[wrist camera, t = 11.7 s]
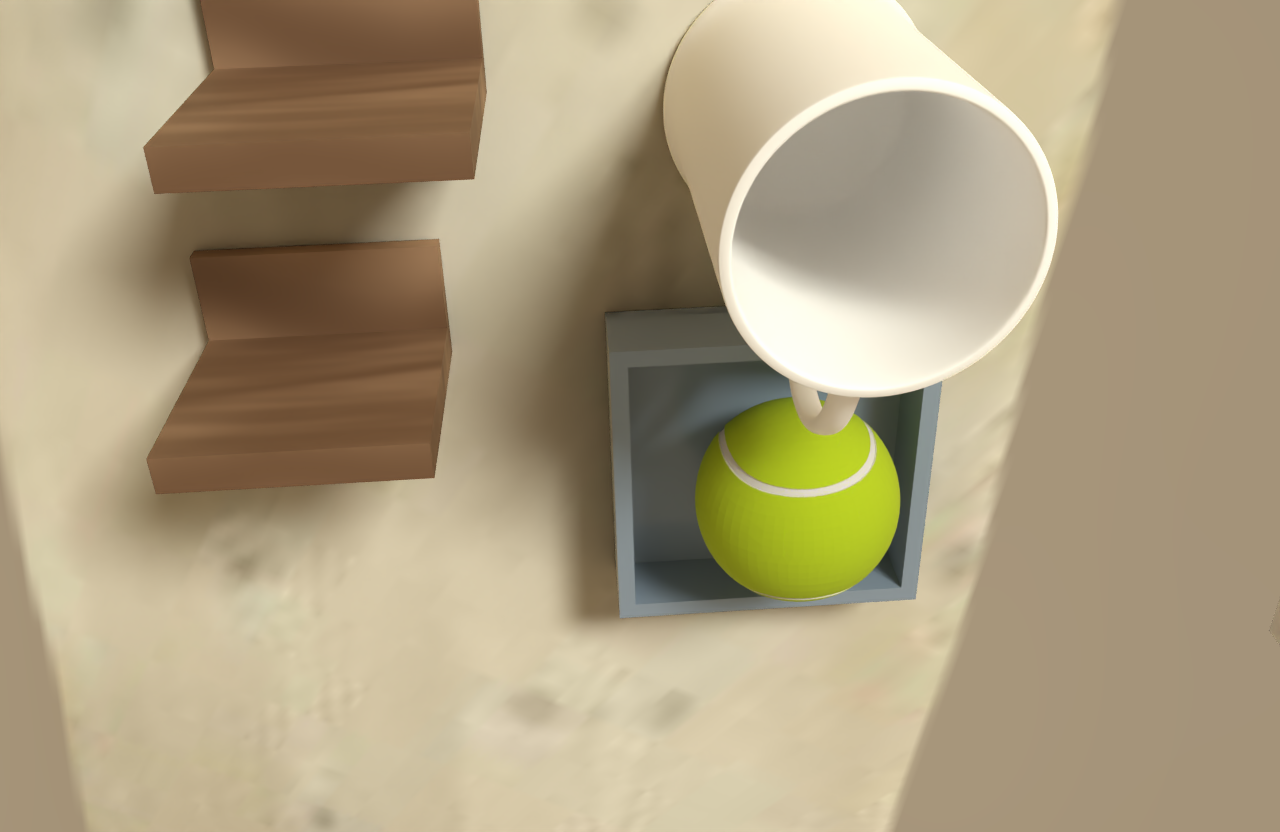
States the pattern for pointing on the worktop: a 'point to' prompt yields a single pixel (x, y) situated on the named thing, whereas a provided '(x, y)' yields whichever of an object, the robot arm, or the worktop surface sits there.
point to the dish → (678, 438)
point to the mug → (855, 196)
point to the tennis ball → (796, 503)
